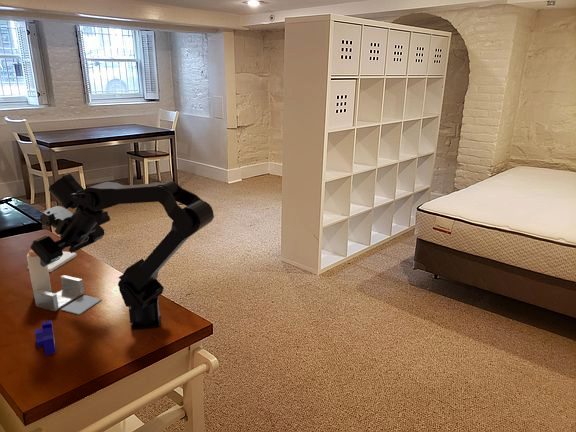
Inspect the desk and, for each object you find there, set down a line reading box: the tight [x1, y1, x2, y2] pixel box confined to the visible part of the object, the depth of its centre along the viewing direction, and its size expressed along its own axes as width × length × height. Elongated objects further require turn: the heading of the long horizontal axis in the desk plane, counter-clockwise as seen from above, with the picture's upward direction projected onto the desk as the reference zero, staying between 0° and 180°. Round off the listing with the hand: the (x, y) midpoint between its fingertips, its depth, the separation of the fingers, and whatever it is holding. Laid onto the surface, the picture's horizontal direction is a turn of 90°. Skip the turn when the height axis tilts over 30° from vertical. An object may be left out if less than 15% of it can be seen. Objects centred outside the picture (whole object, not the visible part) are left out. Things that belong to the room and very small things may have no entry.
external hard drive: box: [26, 250, 78, 273], centre depth 138 cm, size 2×8×12 cm
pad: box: [60, 294, 102, 316], centre depth 115 cm, size 6×8×1 cm
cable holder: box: [34, 319, 57, 356], centre depth 98 cm, size 8×4×4 cm, turn 30°
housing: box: [32, 274, 85, 312], centre depth 116 cm, size 6×10×4 cm, turn 161°
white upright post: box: [26, 249, 53, 295], centre depth 117 cm, size 4×4×14 cm
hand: (56, 258), depth 112 cm, fingers open, 9 cm apart
